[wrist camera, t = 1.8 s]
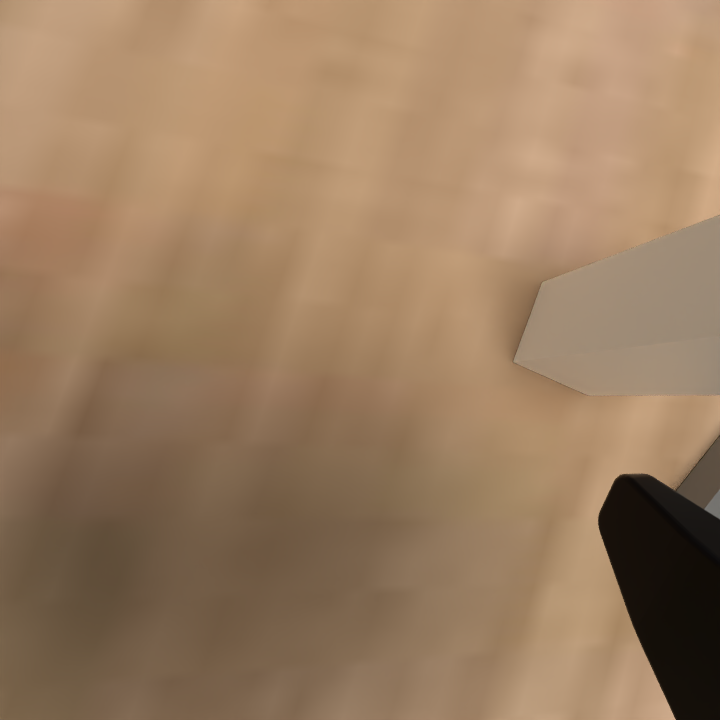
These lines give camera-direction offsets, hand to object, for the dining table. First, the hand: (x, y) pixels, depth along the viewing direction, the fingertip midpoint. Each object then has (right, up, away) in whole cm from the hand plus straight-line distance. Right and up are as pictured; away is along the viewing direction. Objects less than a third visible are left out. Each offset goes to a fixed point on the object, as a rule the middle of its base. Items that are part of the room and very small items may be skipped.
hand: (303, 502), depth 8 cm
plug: (+9, +3, +17) cm, 20 cm away
